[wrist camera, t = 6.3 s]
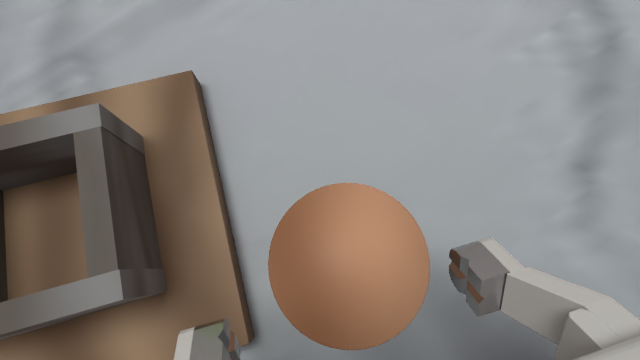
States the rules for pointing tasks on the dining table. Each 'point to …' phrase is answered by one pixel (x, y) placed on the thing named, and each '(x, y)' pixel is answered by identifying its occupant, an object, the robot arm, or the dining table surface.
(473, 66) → the dining table surface
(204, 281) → the stand
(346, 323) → the post
